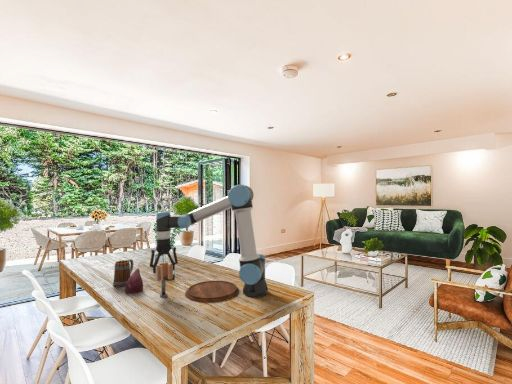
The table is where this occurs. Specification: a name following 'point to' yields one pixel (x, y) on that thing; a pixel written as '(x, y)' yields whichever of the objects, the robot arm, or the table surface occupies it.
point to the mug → (122, 272)
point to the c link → (164, 270)
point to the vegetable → (134, 283)
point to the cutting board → (211, 291)
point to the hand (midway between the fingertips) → (164, 277)
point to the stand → (163, 288)
